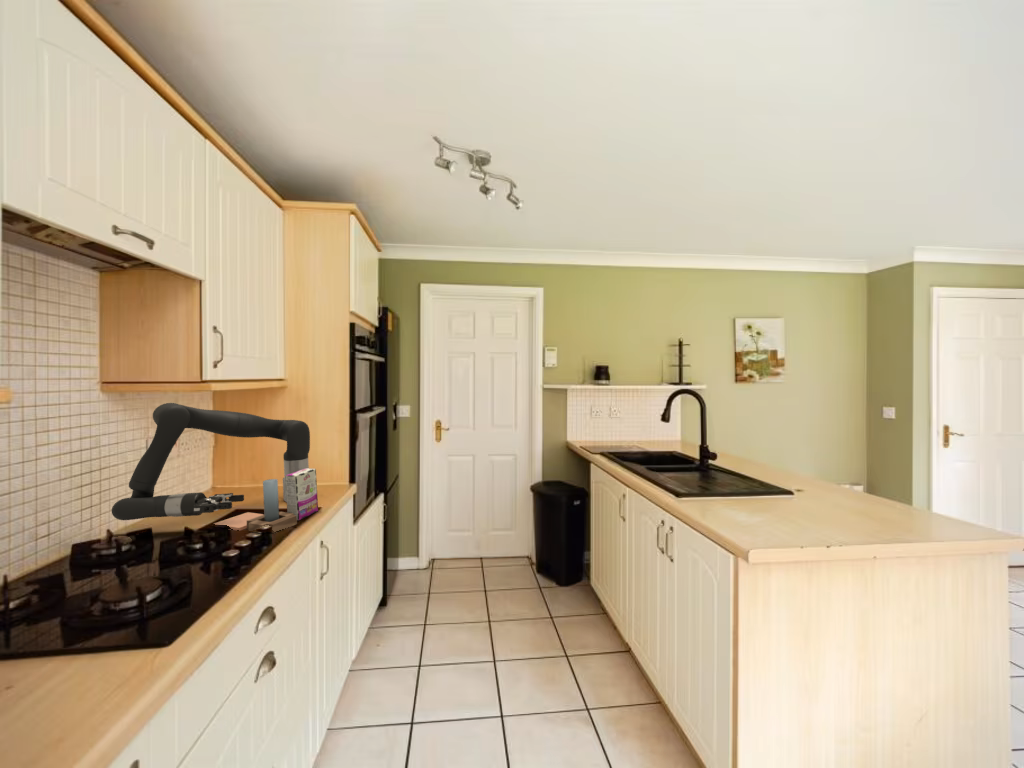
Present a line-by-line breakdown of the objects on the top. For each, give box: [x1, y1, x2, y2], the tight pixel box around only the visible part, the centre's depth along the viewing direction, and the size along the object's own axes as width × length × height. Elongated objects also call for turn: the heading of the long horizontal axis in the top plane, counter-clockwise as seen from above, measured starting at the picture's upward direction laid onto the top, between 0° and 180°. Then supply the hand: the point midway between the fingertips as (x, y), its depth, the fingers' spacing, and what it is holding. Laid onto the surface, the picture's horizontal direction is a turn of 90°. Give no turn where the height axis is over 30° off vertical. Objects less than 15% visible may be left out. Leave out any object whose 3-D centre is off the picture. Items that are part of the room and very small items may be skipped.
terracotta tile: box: [213, 511, 264, 532], centre depth 158 cm, size 13×13×1 cm
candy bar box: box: [285, 467, 319, 521], centre depth 164 cm, size 11×5×16 cm, turn 168°
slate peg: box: [262, 478, 280, 522], centre depth 152 cm, size 4×4×16 cm
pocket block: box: [246, 511, 298, 533], centre depth 152 cm, size 12×12×3 cm
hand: (237, 501), depth 151 cm, fingers open, 8 cm apart
